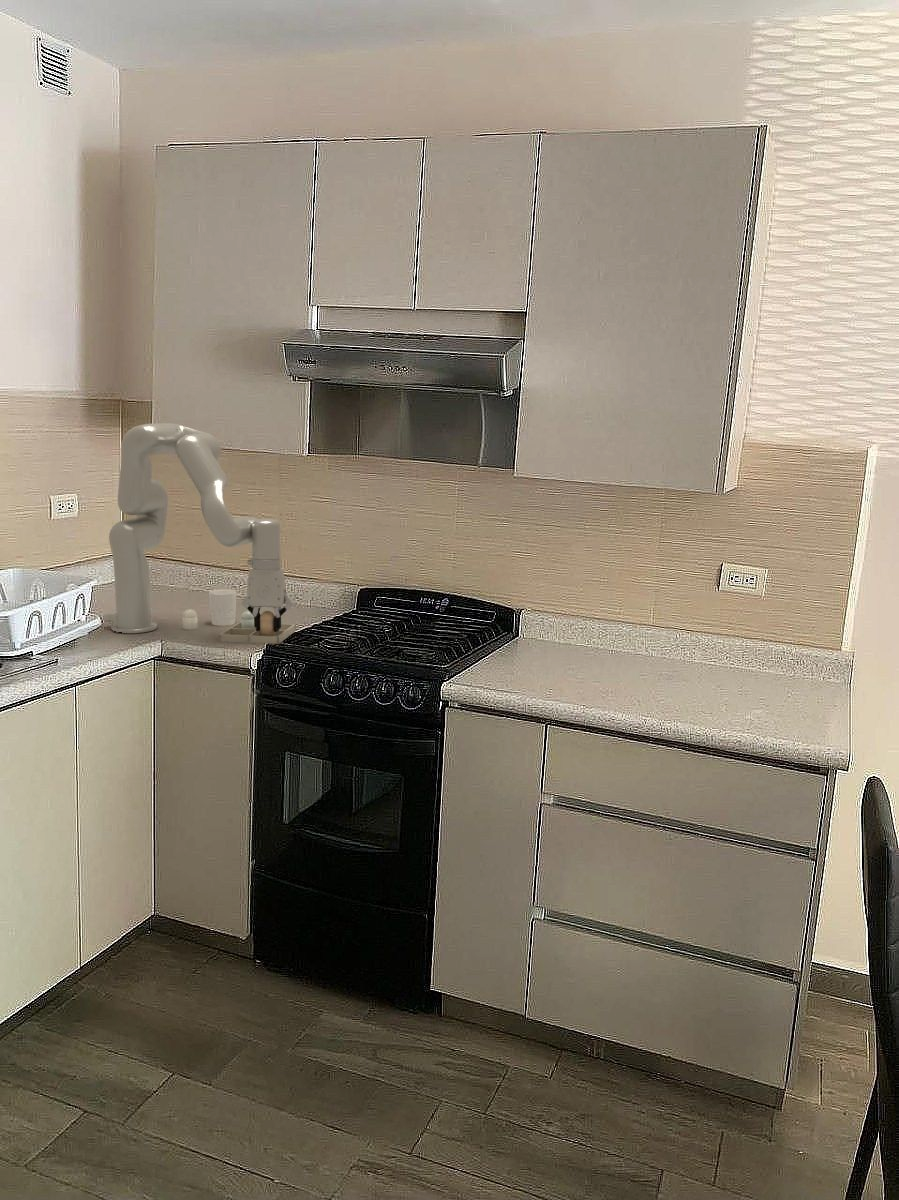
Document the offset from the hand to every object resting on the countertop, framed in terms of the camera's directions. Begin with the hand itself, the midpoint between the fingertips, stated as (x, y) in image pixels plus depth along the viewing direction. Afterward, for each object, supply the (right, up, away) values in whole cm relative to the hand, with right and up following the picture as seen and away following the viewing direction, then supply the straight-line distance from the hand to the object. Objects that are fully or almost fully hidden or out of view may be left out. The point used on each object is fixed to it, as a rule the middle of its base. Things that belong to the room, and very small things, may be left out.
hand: (267, 629), depth 289 cm
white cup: (-17, +1, +21) cm, 26 cm away
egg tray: (-3, -2, +5) cm, 7 cm away
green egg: (-7, -1, +9) cm, 12 cm away
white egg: (-25, 0, +14) cm, 28 cm away
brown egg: (0, -1, 0) cm, 1 cm away
